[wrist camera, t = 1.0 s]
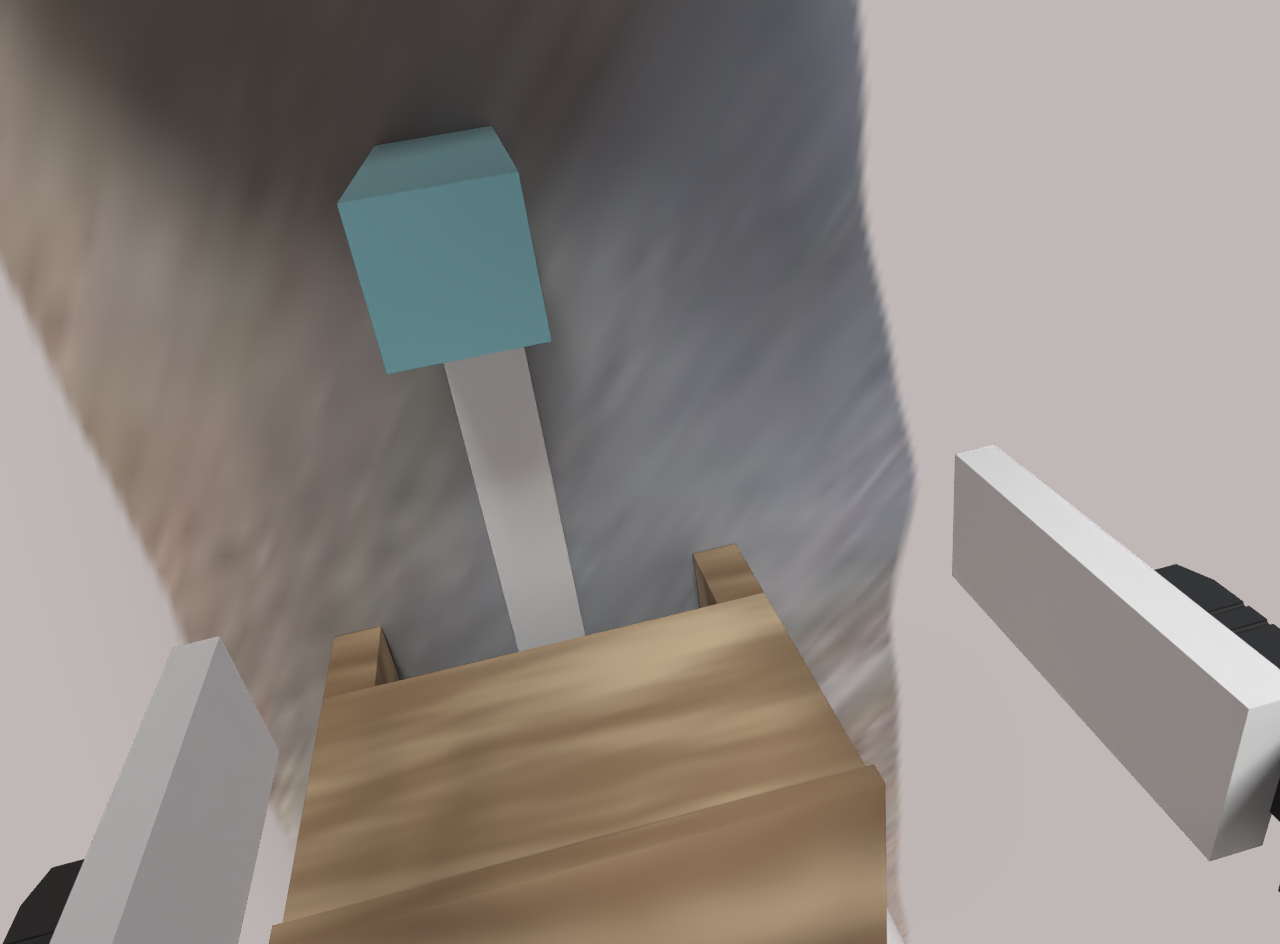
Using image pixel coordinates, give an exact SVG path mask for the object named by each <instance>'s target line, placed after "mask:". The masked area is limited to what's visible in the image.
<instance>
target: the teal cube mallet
mask: <svg viewBox="0 0 1280 944" xmlns="http://www.w3.org/2000/svg"><path fill="white" fill-rule="evenodd" d="M337 206H338V209H339V213H340V216H341V220H342V223H343V226H344V230H345V233H346V237H347V240H348V243H349V247H350V250H351V254H352V257H353V260H354V264H355V267H356V271H357V274H358V277H359V281H360V284H361V288H362V291H363V294H364V298H365V301H366V305H367V308H368V311H369V315H370V318H371V322H372V325H373V328H374V332H375V335H376V339H377V342H378V346H379V349H380V352H381V356H382V359H383V363H384V366H385V369H386V373H387V374H392V373H397V372H402V371H407V370H412V369H417V368H422V367H427V366H432V365H437V364H442V363H444V366H445V370H446V374H447V378H448V382H449V386H450V389H451V393H452V397H453V401H454V405H455V409H456V413H457V416H458V420H459V424H460V428H461V432H462V436H463V440H464V443H465V447H466V451H467V455H468V459H469V463H470V466H471V470H472V474H473V478H474V482H475V486H476V490H477V493H478V497H479V501H480V505H481V509H482V513H483V517H484V520H485V524H486V528H487V532H488V536H489V540H490V543H491V547H492V551H493V555H494V559H495V563H496V567H497V570H498V574H499V578H500V582H501V586H502V590H503V594H504V597H505V601H506V605H507V609H508V613H509V617H510V620H511V624H512V628H513V632H514V636H515V640H516V644H517V647H518V651H519V652H520V651H524V650H528V649H532V648H537V647H541V646H545V645H549V644H553V643H557V642H562V641H566V640H570V639H574V638H578V637H582V636H585V631H584V627H583V622H582V617H581V613H580V608H579V603H578V598H577V594H576V589H575V584H574V580H573V575H572V570H571V565H570V561H569V556H568V551H567V546H566V542H565V537H564V532H563V528H562V523H561V518H560V513H559V509H558V504H557V499H556V495H555V490H554V485H553V480H552V476H551V471H550V466H549V462H548V457H547V452H546V447H545V443H544V438H543V433H542V429H541V424H540V419H539V414H538V410H537V405H536V400H535V395H534V391H533V386H532V381H531V377H530V372H529V367H528V362H527V358H526V353H525V348H524V347H527V346H532V345H537V344H542V343H547V342H552V341H551V336H550V331H549V326H548V321H547V315H546V310H545V305H544V300H543V295H542V290H541V285H540V280H539V275H538V269H537V264H536V259H535V254H534V249H533V244H532V239H531V234H530V229H529V223H528V218H527V213H526V208H525V203H524V198H523V193H522V188H521V183H520V178H519V172H518V170H517V169H516V167H515V165H514V163H513V162H512V160H511V158H510V156H509V155H508V153H507V151H506V150H505V148H504V146H503V144H502V143H501V141H500V139H499V137H498V136H497V134H496V132H495V131H494V129H493V127H492V126H487V127H481V128H475V129H469V130H463V131H458V132H452V133H446V134H440V135H434V136H428V137H422V138H416V139H410V140H405V141H399V142H393V143H387V144H381V145H375V146H374V147H373V149H372V150H371V152H370V153H369V155H368V157H367V158H366V160H365V161H364V163H363V164H362V166H361V167H360V169H359V170H358V172H357V174H356V175H355V177H354V178H353V180H352V181H351V183H350V184H349V186H348V187H347V189H346V190H345V192H344V194H343V195H342V197H341V198H340V200H339V201H338V203H337Z"/></svg>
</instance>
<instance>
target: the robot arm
mask: <svg viewBox="0 0 1280 944" xmlns="http://www.w3.org/2000/svg"><path fill="white" fill-rule="evenodd" d="M952 564H953V565H952V566H953V567H952V575H953V577H954V578H955V579H956V580H957V581H958V582H959V583H960V585H961V586H962V587H963V588H964V589H965V590H966V591H967V592H968V593H969V595H970V596H971V597H972V598H973V599H974V600H975V601H976V602H977V603H978V605H979V606H980V607H981V608H982V609H983V610H984V611H985V612H986V613H987V615H988V616H989V617H990V618H991V619H992V620H993V621H994V622H995V623H996V624H997V626H998V627H999V628H1000V629H1001V630H1002V631H1003V632H1004V633H1005V634H1006V636H1007V637H1008V638H1009V639H1010V640H1011V641H1012V642H1013V643H1014V644H1015V646H1016V647H1017V648H1018V649H1019V650H1020V651H1021V652H1022V653H1023V655H1024V656H1025V657H1026V658H1027V659H1028V660H1029V661H1030V662H1031V663H1032V664H1033V665H1034V667H1035V668H1036V669H1037V670H1038V671H1039V672H1040V673H1041V675H1042V676H1043V677H1044V678H1045V679H1046V680H1047V681H1048V682H1049V683H1050V685H1051V686H1052V687H1053V688H1054V689H1055V690H1056V691H1057V692H1058V693H1059V695H1061V697H1062V698H1063V699H1064V700H1065V701H1066V702H1067V703H1068V705H1069V706H1070V707H1071V708H1072V709H1073V710H1074V711H1075V712H1076V713H1077V715H1078V716H1079V717H1080V718H1081V719H1082V720H1083V721H1084V722H1085V723H1086V725H1087V726H1088V727H1089V728H1090V729H1091V730H1092V731H1093V732H1094V733H1095V734H1096V736H1097V737H1098V738H1099V739H1100V740H1101V741H1102V742H1103V743H1104V745H1105V746H1106V747H1107V748H1108V749H1109V750H1110V751H1111V752H1112V753H1113V755H1114V756H1115V757H1116V758H1117V759H1118V760H1119V761H1120V762H1121V763H1122V765H1123V766H1124V767H1125V768H1126V769H1127V770H1128V771H1129V772H1130V773H1131V775H1132V776H1133V777H1134V778H1135V779H1136V780H1137V781H1138V782H1139V783H1140V784H1141V786H1142V787H1143V788H1144V789H1145V790H1146V791H1147V792H1148V793H1149V794H1150V796H1151V797H1152V798H1153V799H1154V800H1155V801H1156V802H1157V803H1158V804H1159V806H1160V807H1161V808H1162V809H1163V810H1164V811H1165V812H1166V813H1167V814H1168V816H1169V817H1170V818H1171V819H1172V820H1173V821H1174V822H1175V823H1176V825H1177V826H1178V827H1179V828H1180V829H1181V830H1182V831H1183V832H1184V833H1185V835H1186V836H1187V837H1188V838H1189V839H1190V840H1191V841H1192V842H1193V843H1194V845H1195V846H1196V847H1197V848H1198V849H1199V850H1200V851H1201V852H1202V853H1203V854H1204V856H1205V857H1206V858H1207V859H1208V860H1209V861H1212V860H1215V859H1219V858H1222V857H1225V856H1229V855H1232V854H1235V853H1238V852H1242V851H1245V850H1248V849H1252V848H1255V847H1258V846H1261V845H1262V844H1263V841H1264V838H1265V834H1266V831H1267V828H1268V824H1269V821H1270V817H1271V814H1272V815H1274V816H1275V817H1276V818H1277V819H1278V820H1279V821H1280V628H1278V627H1277V626H1275V625H1274V624H1271V625H1270V624H1268V622H1267V619H1266V618H1265V617H1263V616H1262V615H1261V614H1259V613H1258V612H1257V611H1255V610H1254V609H1253V608H1251V607H1250V606H1247V607H1245V606H1244V604H1243V601H1242V600H1240V599H1239V598H1238V597H1236V596H1235V595H1234V594H1232V593H1231V592H1229V591H1228V590H1227V589H1225V588H1224V587H1223V586H1221V585H1220V584H1219V583H1217V582H1216V581H1215V580H1213V579H1211V578H1208V577H1205V576H1203V575H1201V574H1199V573H1196V572H1194V571H1191V570H1189V569H1187V568H1184V567H1182V566H1179V565H1177V564H1175V565H1171V566H1168V567H1164V568H1160V569H1156V570H1153V569H1152V568H1151V567H1149V566H1148V565H1147V564H1145V563H1144V562H1143V561H1142V560H1141V559H1139V558H1138V557H1137V556H1135V555H1134V554H1133V553H1132V552H1130V551H1129V550H1128V549H1126V548H1125V547H1124V546H1123V545H1121V544H1120V543H1119V542H1118V541H1116V540H1115V539H1114V538H1113V537H1111V536H1110V535H1109V534H1107V533H1106V532H1105V531H1104V530H1103V529H1101V528H1100V527H1099V526H1097V525H1096V524H1095V523H1094V522H1092V521H1091V520H1090V519H1088V518H1087V517H1086V516H1085V515H1084V514H1082V513H1081V512H1079V511H1078V510H1077V509H1076V508H1075V507H1073V506H1072V505H1071V504H1069V503H1068V502H1067V501H1066V500H1065V499H1063V498H1062V497H1061V496H1059V495H1058V494H1057V493H1056V492H1054V491H1053V490H1052V489H1051V488H1049V487H1048V486H1047V485H1046V484H1044V483H1043V482H1042V481H1040V480H1039V479H1038V478H1037V477H1035V476H1034V475H1033V474H1032V473H1030V472H1029V471H1028V470H1027V469H1025V468H1024V467H1023V466H1021V465H1020V464H1019V463H1018V462H1016V461H1015V460H1014V459H1013V458H1011V457H1010V456H1009V455H1008V454H1006V453H1005V452H1004V451H1002V450H1001V449H1000V448H999V447H997V446H996V445H995V444H994V445H989V446H985V447H981V448H977V449H973V450H969V451H965V452H961V453H957V454H955V481H954V523H953V563H952ZM278 756H279V750H278V748H277V746H276V744H275V742H274V740H273V738H272V736H271V734H270V733H269V731H268V729H267V727H266V725H265V723H264V721H263V719H262V717H261V715H260V713H259V711H258V709H257V707H256V705H255V703H254V701H253V700H252V698H251V696H250V694H249V692H248V690H247V688H246V686H245V684H244V682H243V680H242V678H241V676H240V674H239V672H238V670H237V669H236V667H235V665H234V663H233V661H232V659H231V657H230V655H229V653H228V651H227V649H226V647H225V645H224V643H223V641H222V639H221V637H220V636H218V637H214V638H210V639H206V640H202V641H198V642H194V643H190V644H186V645H181V646H177V647H174V648H172V651H171V653H170V656H169V658H168V660H167V663H166V665H165V668H164V670H163V672H162V675H161V677H160V680H159V682H158V684H157V687H156V689H155V692H154V694H153V696H152V699H151V701H150V704H149V706H148V708H147V711H146V713H145V716H144V718H143V720H142V723H141V725H140V728H139V730H138V732H137V735H136V737H135V740H134V742H133V744H132V747H131V749H130V752H129V754H128V757H127V759H126V761H125V764H124V766H123V769H122V771H121V773H120V776H119V778H118V780H117V783H116V785H115V788H114V790H113V792H112V795H111V797H110V799H109V802H108V804H107V807H106V809H105V811H104V814H103V816H102V819H101V821H100V823H99V826H98V828H97V831H96V833H95V836H94V838H93V840H92V843H91V846H90V847H89V850H88V852H87V855H86V857H85V859H83V860H79V861H75V862H72V863H68V864H64V865H60V866H57V867H53V868H51V870H50V871H49V872H48V873H47V874H46V876H45V877H44V878H43V879H42V880H41V882H40V883H39V884H38V885H37V886H36V888H35V889H34V890H33V891H32V892H31V894H30V895H29V896H28V897H27V899H26V900H25V901H24V902H23V904H22V905H21V906H20V908H19V910H18V912H17V914H16V917H15V919H14V921H13V923H12V925H11V927H10V929H9V931H8V934H7V936H6V938H5V940H4V942H3V944H238V941H239V936H240V932H241V927H242V923H243V918H244V913H245V909H246V904H247V899H248V895H249V890H250V886H251V881H252V876H253V872H254V867H255V862H256V857H257V853H258V849H259V843H260V839H261V835H262V830H263V825H264V820H265V816H266V812H267V807H268V802H269V798H270V793H271V788H272V784H273V779H274V774H275V770H276V765H277V761H278ZM1279 892H1280V886H1279Z"/></svg>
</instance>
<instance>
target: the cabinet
mask: <svg viewBox="0 0 1280 944" xmlns="http://www.w3.org/2000/svg"><path fill="white" fill-rule="evenodd" d="M693 558H694V565H695V573H696V581H697V588H698V596H699V603H700V608H699V609H694V610H690V611H686V612H682V613H678V614H674V615H670V616H665V617H661V618H657V619H653V620H649V621H645V622H640V623H636V624H632V625H628V626H624V627H620V628H616V629H611V630H607V631H603V632H599V633H595V634H591V635H586V636H582V637H578V638H574V639H570V640H566V641H562V642H557V643H553V644H549V645H545V646H541V647H537V648H532V649H528V650H524V651H520V652H516V653H512V654H508V655H503V656H499V657H495V658H491V659H487V660H483V661H478V662H474V663H470V664H466V665H462V666H458V667H454V668H449V669H445V670H441V671H437V672H433V673H429V674H424V675H420V676H416V677H412V678H408V679H404V680H399V677H398V674H397V671H396V668H395V665H394V662H393V660H392V657H391V654H390V651H389V648H388V645H387V642H386V639H385V636H384V634H383V631H382V628H381V626H380V627H376V628H372V629H367V630H363V631H359V632H355V633H350V634H346V635H342V636H337V637H334V641H333V647H332V652H331V658H330V663H329V669H328V674H327V680H326V686H325V691H324V697H323V702H322V708H321V713H320V719H319V724H318V730H317V735H316V741H315V746H314V752H313V757H312V763H311V769H310V774H309V780H308V785H307V791H306V796H305V802H304V807H303V813H302V818H301V824H300V829H299V835H298V840H297V846H296V852H295V857H294V863H293V868H292V874H291V880H290V885H289V891H288V896H287V901H286V907H285V913H284V918H283V923H281V924H277V925H273V926H272V930H271V935H270V940H269V944H887V896H886V805H885V782H884V781H883V779H882V777H881V776H880V774H879V772H878V771H877V769H876V767H875V766H874V764H873V765H870V766H866V767H865V765H864V763H863V761H862V760H861V758H860V756H859V755H858V753H857V751H856V749H855V748H854V746H853V744H852V743H851V741H850V739H849V737H848V736H847V734H846V732H845V731H844V729H843V727H842V725H841V724H840V722H839V720H838V719H837V717H836V715H835V713H834V712H833V710H832V708H831V707H830V705H829V703H828V701H827V700H826V698H825V696H824V695H823V693H822V691H821V689H820V688H819V686H818V684H817V683H816V681H815V679H814V677H813V676H812V674H811V672H810V671H809V669H808V667H807V665H806V664H805V662H804V660H803V659H802V657H801V655H800V653H799V652H798V650H797V648H796V647H795V645H794V643H793V641H792V640H791V638H790V636H789V635H788V633H787V631H786V629H785V628H784V626H783V624H782V623H781V621H780V619H779V617H778V616H777V614H776V612H775V611H774V609H773V607H772V606H771V604H770V602H769V600H768V599H767V597H766V595H765V594H764V592H763V590H762V588H761V587H760V585H759V583H758V582H757V580H756V578H755V576H754V575H753V573H752V571H751V570H750V568H749V566H748V564H747V563H746V561H745V559H744V558H743V556H742V554H741V552H740V551H739V549H738V547H737V546H736V544H732V545H728V546H724V547H719V548H715V549H711V550H706V551H702V552H698V553H694V554H693Z"/></svg>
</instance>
